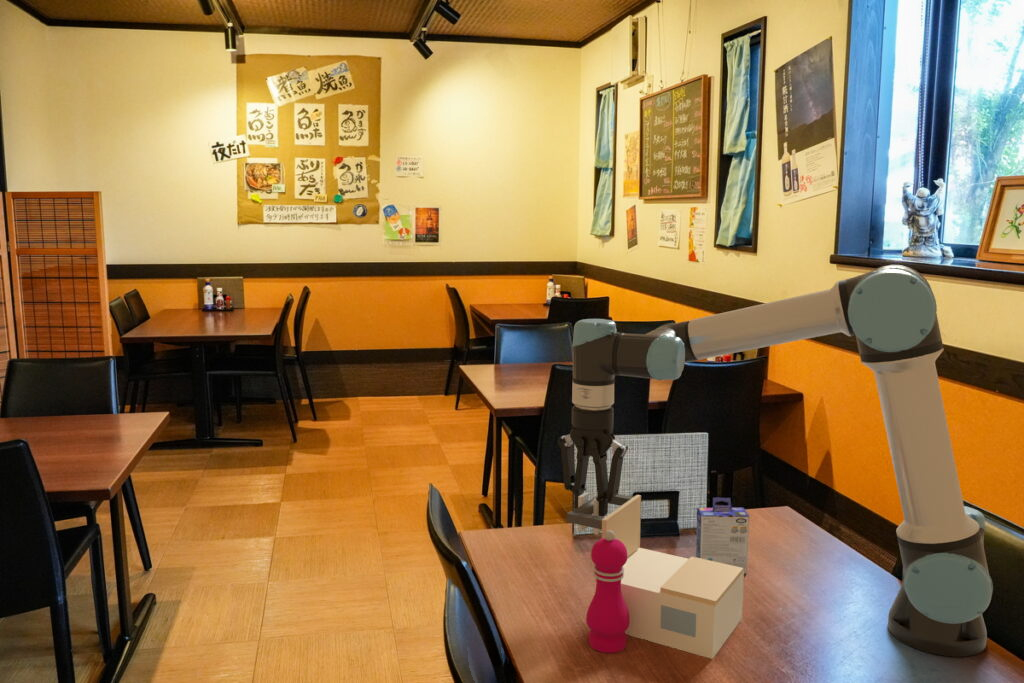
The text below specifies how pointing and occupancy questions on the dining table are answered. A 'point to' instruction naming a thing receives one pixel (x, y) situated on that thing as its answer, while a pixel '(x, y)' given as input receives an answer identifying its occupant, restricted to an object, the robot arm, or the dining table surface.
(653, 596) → the carton
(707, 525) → the ink cartridge box
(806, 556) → the dining table surface
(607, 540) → the pepper mill
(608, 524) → the flap
